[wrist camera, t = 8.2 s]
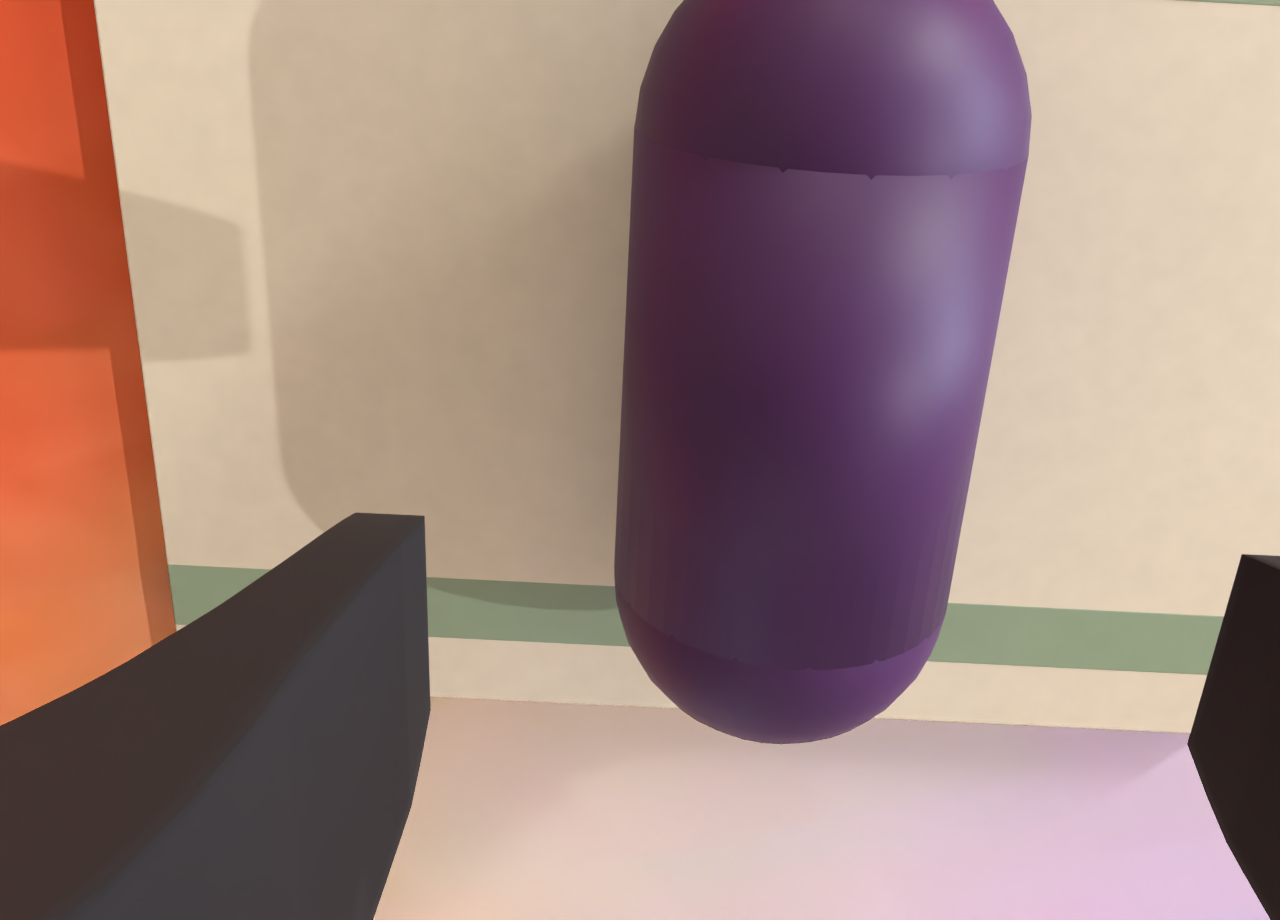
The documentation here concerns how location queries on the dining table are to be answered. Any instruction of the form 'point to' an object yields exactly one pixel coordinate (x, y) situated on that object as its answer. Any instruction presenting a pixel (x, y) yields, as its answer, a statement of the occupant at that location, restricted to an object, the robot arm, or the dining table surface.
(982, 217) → the eggplant
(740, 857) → the dining table surface
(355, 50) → the towel
